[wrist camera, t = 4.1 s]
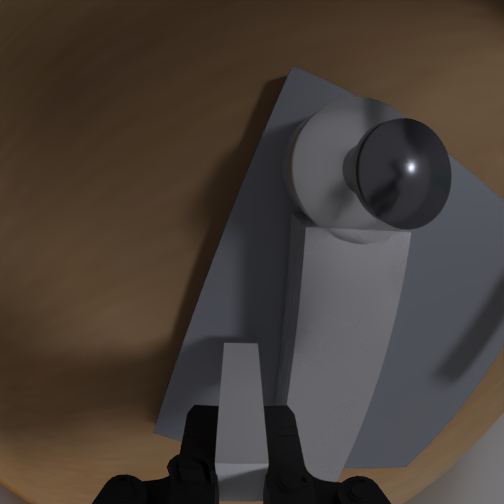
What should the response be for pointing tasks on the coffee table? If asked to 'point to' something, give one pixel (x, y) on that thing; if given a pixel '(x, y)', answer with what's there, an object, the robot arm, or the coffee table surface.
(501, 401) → the coffee table surface
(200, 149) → the coffee table surface
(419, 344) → the plate
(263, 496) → the robot arm
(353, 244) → the link
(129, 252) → the coffee table surface
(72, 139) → the coffee table surface
